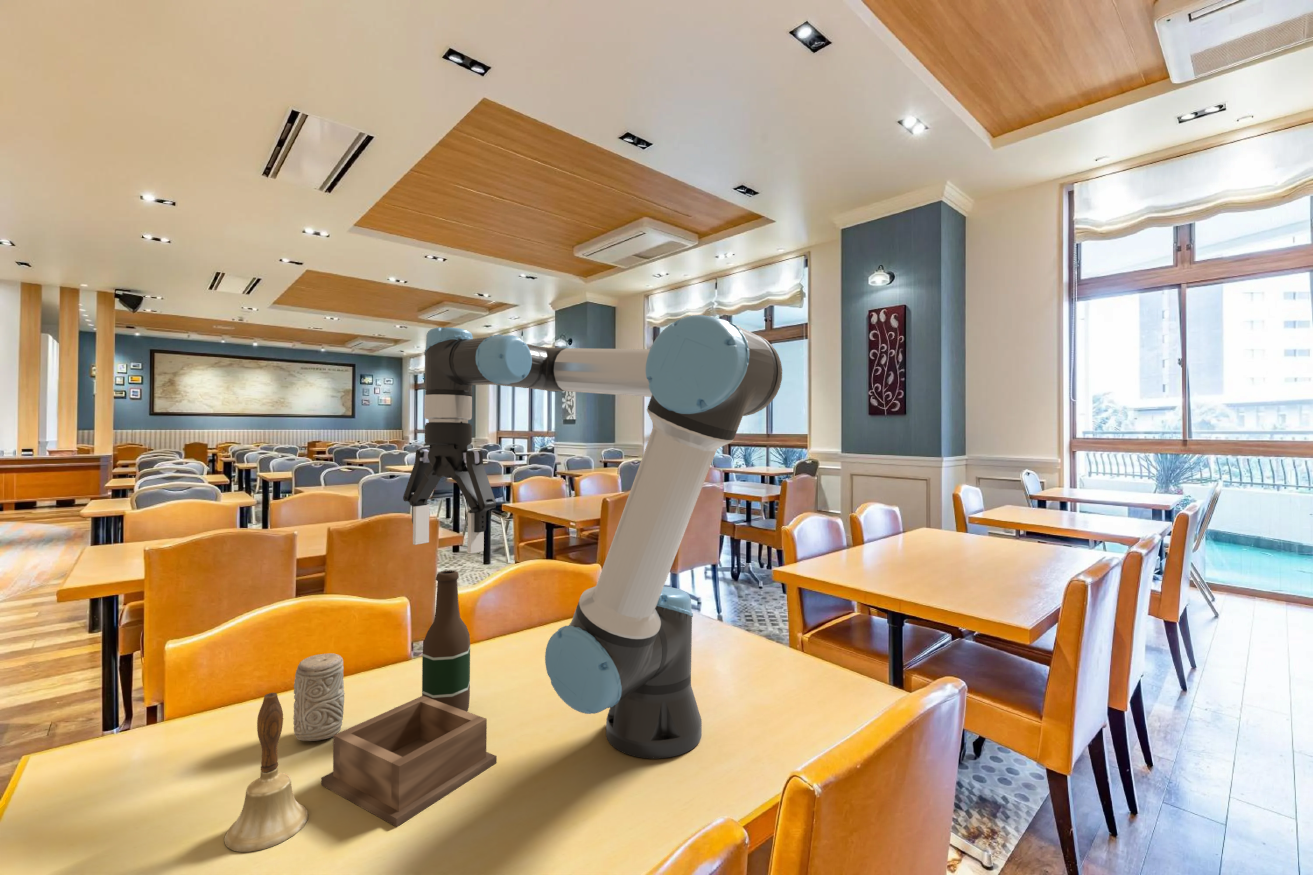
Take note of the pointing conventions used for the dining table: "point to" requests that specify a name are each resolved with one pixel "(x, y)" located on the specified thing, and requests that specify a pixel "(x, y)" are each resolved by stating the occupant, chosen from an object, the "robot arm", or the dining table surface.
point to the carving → (318, 697)
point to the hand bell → (267, 793)
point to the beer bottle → (447, 648)
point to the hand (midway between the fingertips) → (447, 547)
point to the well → (408, 758)
